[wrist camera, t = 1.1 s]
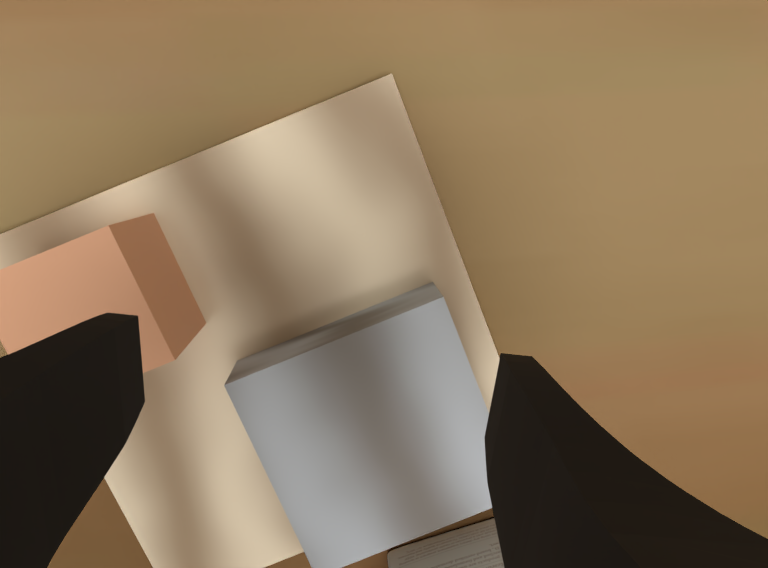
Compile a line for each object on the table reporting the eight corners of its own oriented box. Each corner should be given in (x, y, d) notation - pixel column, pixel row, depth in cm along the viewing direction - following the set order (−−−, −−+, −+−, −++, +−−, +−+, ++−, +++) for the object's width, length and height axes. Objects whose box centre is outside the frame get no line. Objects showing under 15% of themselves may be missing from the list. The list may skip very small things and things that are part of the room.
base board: (178, 589, 30) (153, 654, 26) (-10, 240, 26) (-72, 254, 22) (531, 449, 30) (559, 492, 26) (390, 76, 26) (397, 61, 22)
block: (97, 367, 27) (41, 414, 22) (40, 259, 26) (-32, 282, 21) (206, 323, 27) (174, 360, 22) (153, 212, 26) (108, 225, 21)
